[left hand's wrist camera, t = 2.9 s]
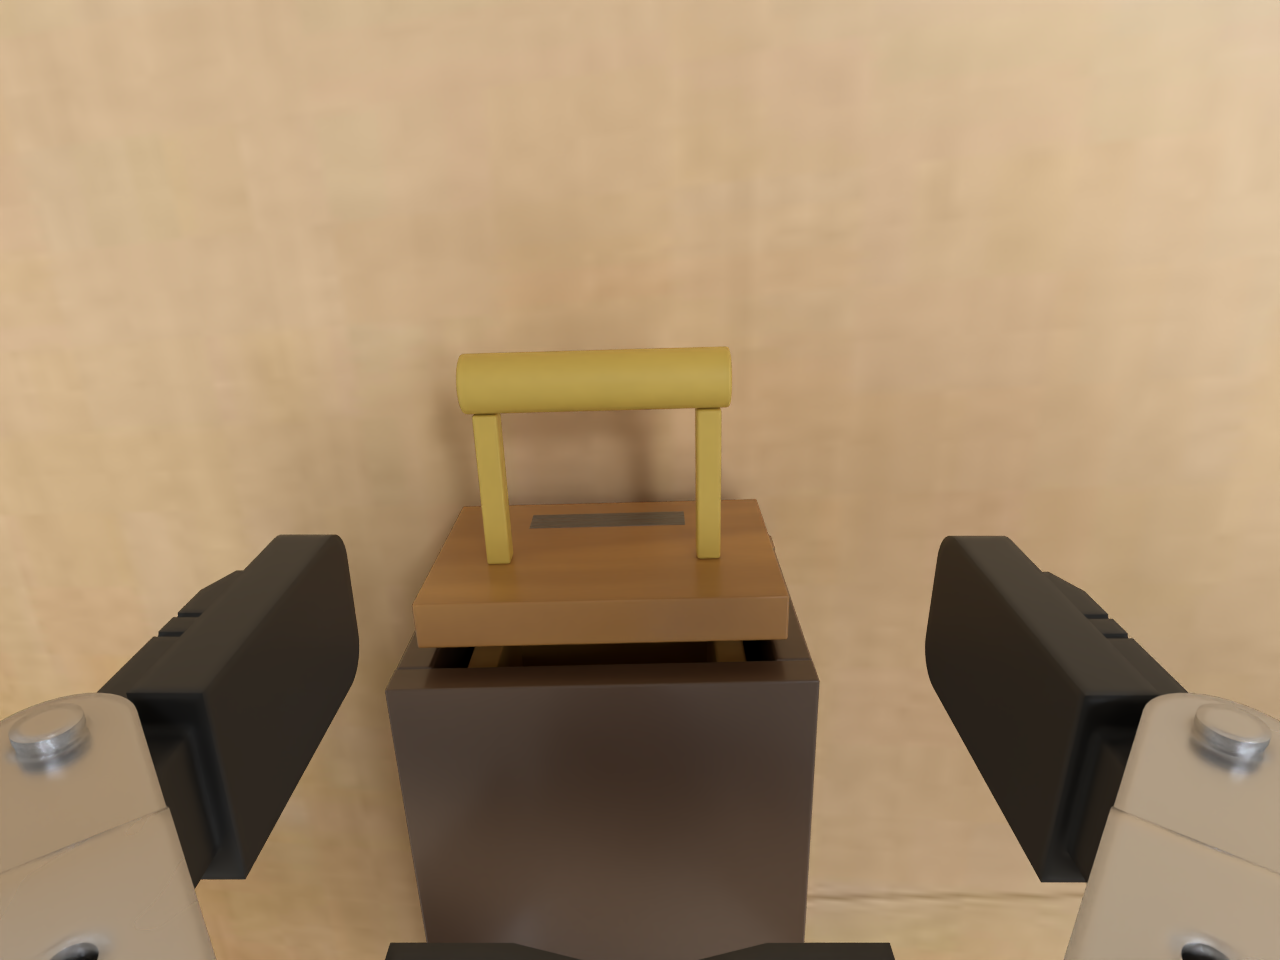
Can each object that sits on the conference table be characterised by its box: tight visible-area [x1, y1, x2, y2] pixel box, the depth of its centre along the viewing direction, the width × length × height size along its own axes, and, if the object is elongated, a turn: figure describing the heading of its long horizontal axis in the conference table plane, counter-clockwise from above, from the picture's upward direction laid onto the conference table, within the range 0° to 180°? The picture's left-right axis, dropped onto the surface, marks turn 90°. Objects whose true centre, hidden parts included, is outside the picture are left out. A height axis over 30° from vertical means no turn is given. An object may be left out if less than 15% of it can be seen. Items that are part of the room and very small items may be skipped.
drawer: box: [412, 347, 789, 668], centre depth 25 cm, size 25×9×6 cm, turn 2°
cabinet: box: [385, 536, 820, 960], centre depth 26 cm, size 20×10×8 cm, turn 2°
